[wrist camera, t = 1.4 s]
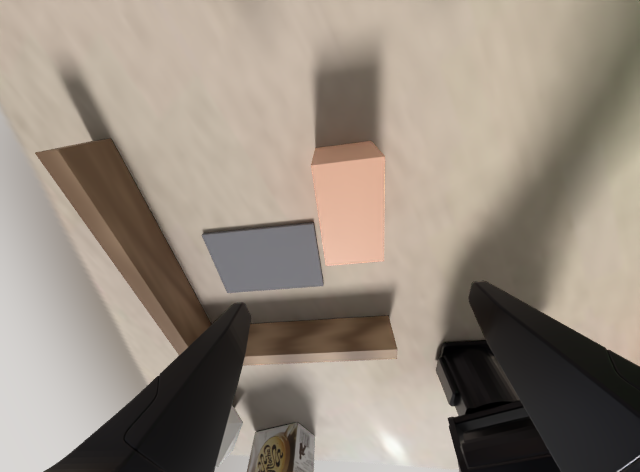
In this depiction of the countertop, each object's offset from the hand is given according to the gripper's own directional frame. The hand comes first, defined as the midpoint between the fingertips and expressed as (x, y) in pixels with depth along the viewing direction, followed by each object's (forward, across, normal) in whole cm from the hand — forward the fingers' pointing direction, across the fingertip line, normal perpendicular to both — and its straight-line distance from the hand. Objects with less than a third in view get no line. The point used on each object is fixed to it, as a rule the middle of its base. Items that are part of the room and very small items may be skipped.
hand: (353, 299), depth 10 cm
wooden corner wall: (+11, +7, +4) cm, 14 cm away
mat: (+11, +8, +5) cm, 15 cm away
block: (+11, 0, 0) cm, 11 cm away
